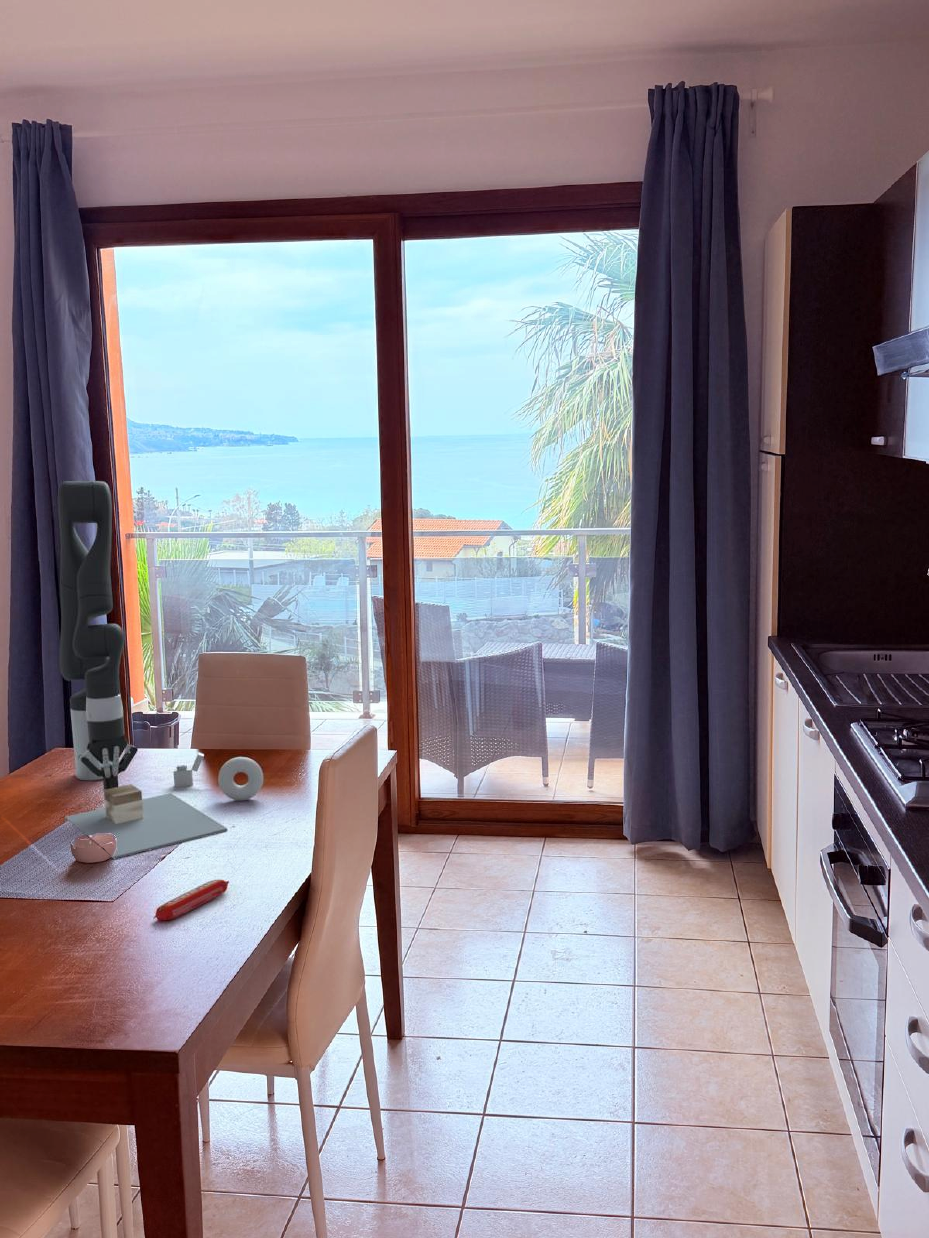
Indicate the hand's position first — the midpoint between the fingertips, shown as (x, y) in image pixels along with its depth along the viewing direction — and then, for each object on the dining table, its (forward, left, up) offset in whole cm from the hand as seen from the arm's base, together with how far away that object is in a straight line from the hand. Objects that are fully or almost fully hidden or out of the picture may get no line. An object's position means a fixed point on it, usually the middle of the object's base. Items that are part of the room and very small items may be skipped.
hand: (111, 792), depth 242 cm
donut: (+12, +25, -4) cm, 28 cm away
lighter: (-5, +20, -4) cm, 21 cm away
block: (+7, 0, -4) cm, 8 cm away
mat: (+13, +2, -4) cm, 14 cm away
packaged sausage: (+59, -7, -5) cm, 59 cm away
